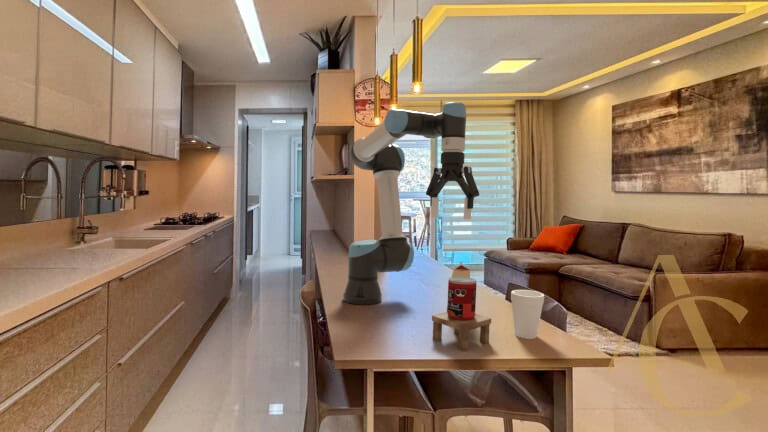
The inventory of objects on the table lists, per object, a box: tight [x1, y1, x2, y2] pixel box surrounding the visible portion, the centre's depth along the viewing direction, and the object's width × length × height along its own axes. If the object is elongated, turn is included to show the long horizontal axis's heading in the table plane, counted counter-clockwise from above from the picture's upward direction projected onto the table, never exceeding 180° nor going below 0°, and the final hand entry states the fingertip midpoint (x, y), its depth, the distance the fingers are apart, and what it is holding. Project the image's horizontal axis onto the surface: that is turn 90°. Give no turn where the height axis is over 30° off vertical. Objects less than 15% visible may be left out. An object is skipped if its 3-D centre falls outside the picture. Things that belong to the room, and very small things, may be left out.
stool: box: [431, 311, 492, 352], centre depth 120 cm, size 12×12×7 cm
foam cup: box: [510, 289, 545, 340], centre depth 126 cm, size 10×9×13 cm
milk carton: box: [446, 261, 471, 311], centre depth 143 cm, size 9×9×20 cm
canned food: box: [446, 276, 477, 321], centre depth 119 cm, size 8×8×11 cm
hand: (450, 218), depth 134 cm, fingers open, 13 cm apart
